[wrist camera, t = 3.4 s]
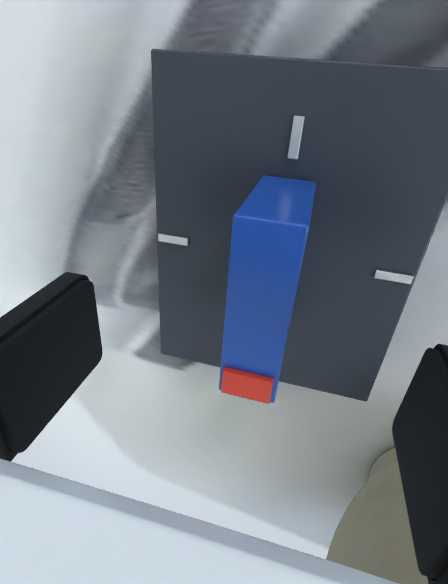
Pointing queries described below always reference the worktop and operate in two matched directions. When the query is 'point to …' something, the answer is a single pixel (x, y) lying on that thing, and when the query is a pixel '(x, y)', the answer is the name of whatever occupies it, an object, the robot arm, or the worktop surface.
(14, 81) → the worktop surface
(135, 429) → the worktop surface
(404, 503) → the planter bowl
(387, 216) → the panel
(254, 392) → the blue flat block
